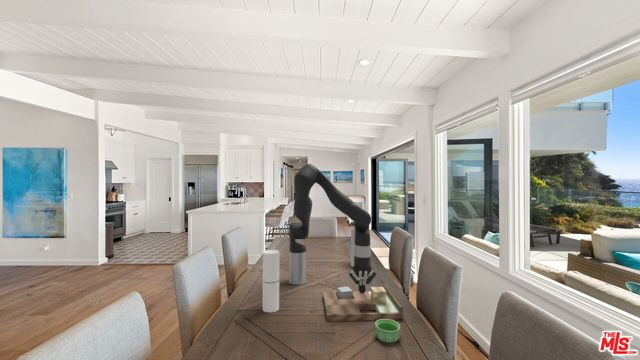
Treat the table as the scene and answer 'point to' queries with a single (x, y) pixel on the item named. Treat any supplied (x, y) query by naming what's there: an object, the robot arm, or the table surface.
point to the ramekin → (387, 330)
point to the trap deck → (361, 307)
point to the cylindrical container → (270, 280)
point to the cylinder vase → (353, 245)
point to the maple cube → (378, 295)
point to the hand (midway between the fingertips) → (361, 292)
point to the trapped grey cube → (344, 293)
